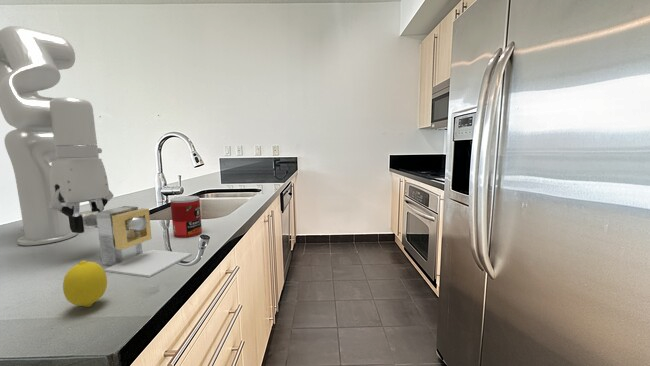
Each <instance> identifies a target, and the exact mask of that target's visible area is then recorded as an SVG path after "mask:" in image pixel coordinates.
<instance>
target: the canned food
mask: <svg viewBox="0 0 650 366" xmlns="http://www.w3.org/2000/svg"><path fill="white" fill-rule="evenodd" d="M200 201H201V200H200V196H197V195H183V196H182V195H181V196H176V197H172V198H170V210H171V211H170V213H171V220H172V221H171V223H172V232H173V233H172V234H173V235H174V237H176V238H179V239H180V238H181V239H182V238H192V236H193V237H196V236H199V235H200V234H202V231H203V230H202V229H203V228H202V215H201V214H202V213H201V202H200Z"/></svg>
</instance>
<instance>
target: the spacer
mask: <svg viewBox="0 0 650 366" xmlns="http://www.w3.org/2000/svg"><path fill="white" fill-rule="evenodd" d="M136 217H138V218H144V219H145V220H146V222H147V224H146V227H145V228H144V229H143V230H140V235H139V236H136V237H133V238H130V239H127V234H126V225H125V220H129V219H132V218H136ZM112 221H113V229H114V238H115V246H116V249H121V250H124V249H126V248H129V247H131V246H134V245H137V244H139V243H145V242H147V241H150V240H152V230H151V219H150V210H149V208H145V207H144V208H138V210H134V211H130V212H126V213H122V214H118V215H114V216H112Z"/></svg>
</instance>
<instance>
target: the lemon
mask: <svg viewBox="0 0 650 366" xmlns="http://www.w3.org/2000/svg"><path fill="white" fill-rule="evenodd" d="M107 285H108V278H107V274H106V271H104V268H103V267H102V266H101V265H100V264H98V263H96V262H94V261H86V260H81V261H79V263H77V264H75V265H73V266H72V267H71V268H70V269H69V270H68V271H67V272H66V274H65V276H64V278H63V283H62V290H63V295H64V297H65V299H66V300H67V302H69V303H70V304H72V305H75V306H77V307H78V306H80V307H82V306H83V307H86V308H90V307H91V306H93V305H94V303H95V302H97V301H98V300H100V299H101V298H102V297H103V296H104V294H105V292H106V290H107V287H108V286H107Z"/></svg>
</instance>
